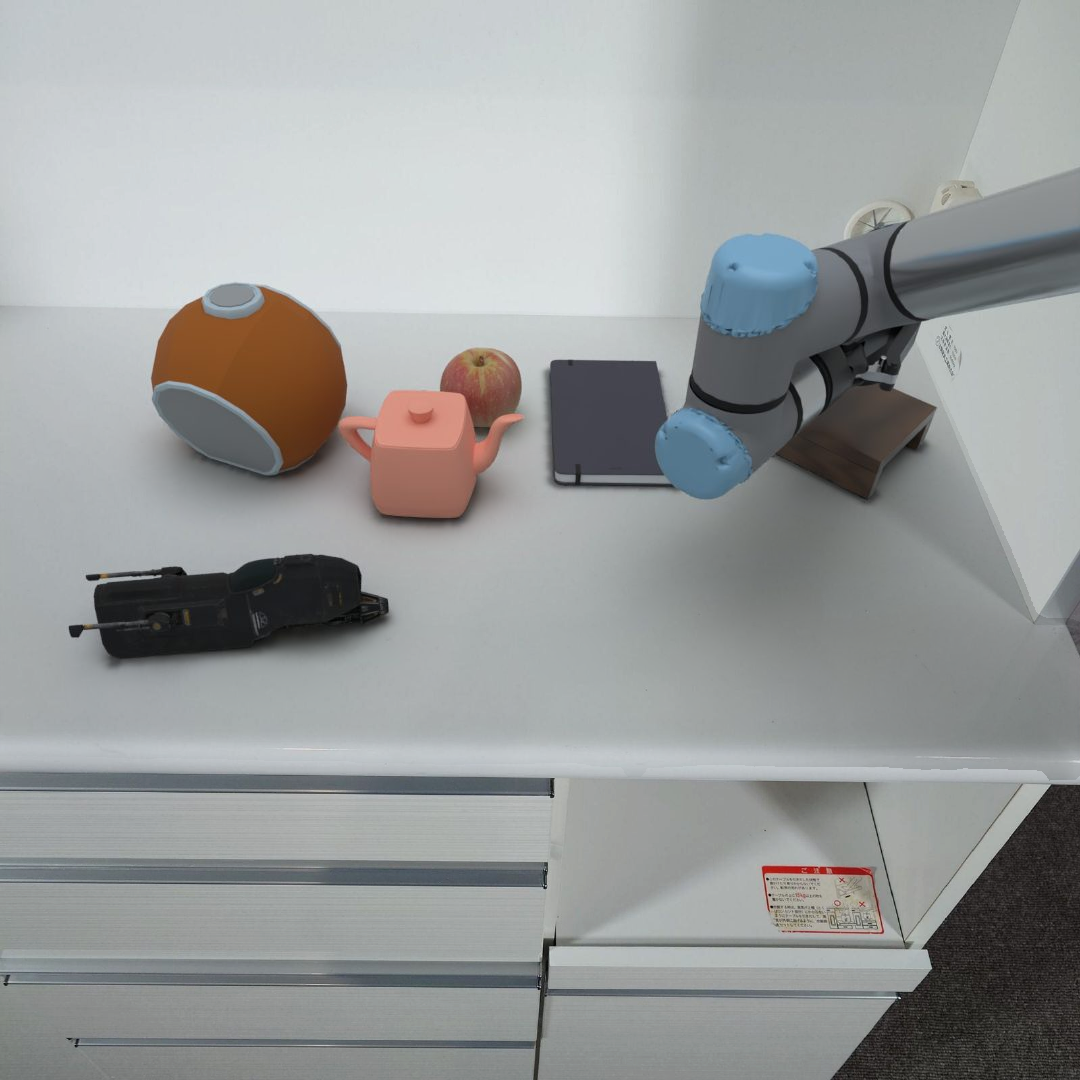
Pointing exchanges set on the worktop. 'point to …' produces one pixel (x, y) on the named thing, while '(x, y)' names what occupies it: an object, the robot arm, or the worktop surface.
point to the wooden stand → (860, 436)
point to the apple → (484, 383)
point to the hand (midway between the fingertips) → (910, 288)
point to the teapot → (424, 452)
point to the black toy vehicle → (227, 604)
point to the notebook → (606, 422)
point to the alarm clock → (250, 378)
